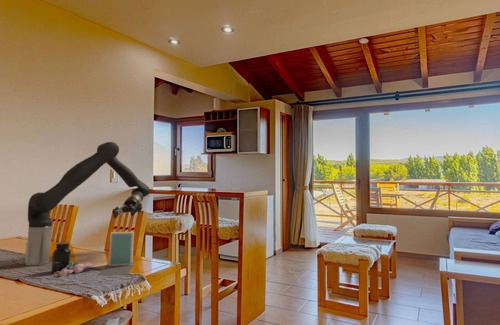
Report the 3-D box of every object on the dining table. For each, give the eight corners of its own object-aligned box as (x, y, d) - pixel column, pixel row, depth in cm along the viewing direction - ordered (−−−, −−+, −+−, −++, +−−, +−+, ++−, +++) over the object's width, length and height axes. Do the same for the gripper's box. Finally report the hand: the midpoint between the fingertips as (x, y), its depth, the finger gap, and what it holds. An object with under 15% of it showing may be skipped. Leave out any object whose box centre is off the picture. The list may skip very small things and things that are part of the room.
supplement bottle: (50, 274, 130) (52, 245, 131) (51, 270, 136) (54, 242, 137) (69, 272, 133) (71, 244, 134) (70, 268, 139) (72, 241, 140)
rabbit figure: (57, 282, 124) (97, 269, 135) (56, 267, 124) (95, 256, 135) (53, 279, 129) (91, 267, 140) (51, 264, 129) (90, 253, 139)
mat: (108, 264, 149) (108, 262, 149) (135, 263, 152) (135, 262, 152) (96, 277, 128) (97, 275, 128) (128, 275, 131) (128, 274, 131)
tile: (109, 264, 146) (111, 232, 148) (132, 264, 148) (133, 231, 150) (108, 265, 144) (110, 232, 145) (131, 265, 146) (133, 232, 148)
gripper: (118, 198, 174) (107, 210, 158) (144, 194, 174) (135, 206, 158) (121, 210, 176) (111, 224, 160) (147, 207, 176) (138, 220, 161)
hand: (123, 215), depth 159 cm, fingers open, 8 cm apart
